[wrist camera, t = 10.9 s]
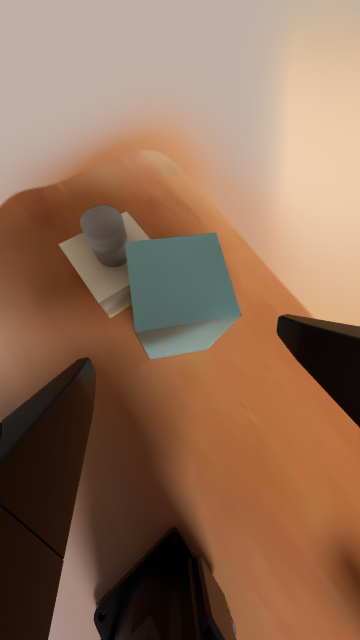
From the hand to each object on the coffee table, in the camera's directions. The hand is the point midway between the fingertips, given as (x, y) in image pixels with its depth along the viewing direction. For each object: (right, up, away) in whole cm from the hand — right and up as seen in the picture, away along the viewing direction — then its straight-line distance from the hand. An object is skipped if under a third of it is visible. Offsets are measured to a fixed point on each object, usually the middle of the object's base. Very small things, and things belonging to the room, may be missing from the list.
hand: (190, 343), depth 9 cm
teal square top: (-1, 0, +10) cm, 10 cm away
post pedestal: (-7, +6, +12) cm, 15 cm away
